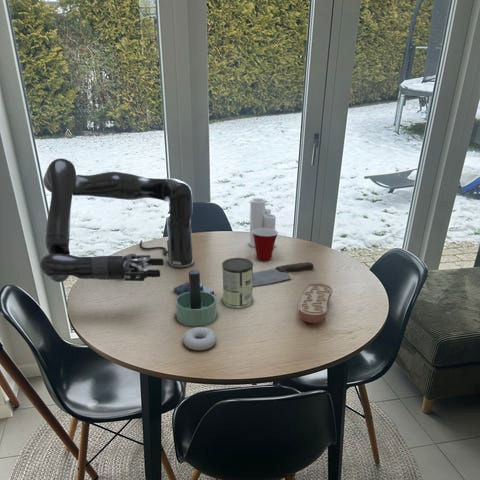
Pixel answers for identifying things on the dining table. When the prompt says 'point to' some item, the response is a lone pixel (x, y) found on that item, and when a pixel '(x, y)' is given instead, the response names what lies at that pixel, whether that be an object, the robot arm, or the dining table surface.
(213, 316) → the processor bowl
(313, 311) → the anatomical model
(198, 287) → the food processor blade
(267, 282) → the cleaver
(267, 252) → the plastic cup
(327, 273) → the dining table surface
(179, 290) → the control block
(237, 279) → the coffee can
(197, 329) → the donut
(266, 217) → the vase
